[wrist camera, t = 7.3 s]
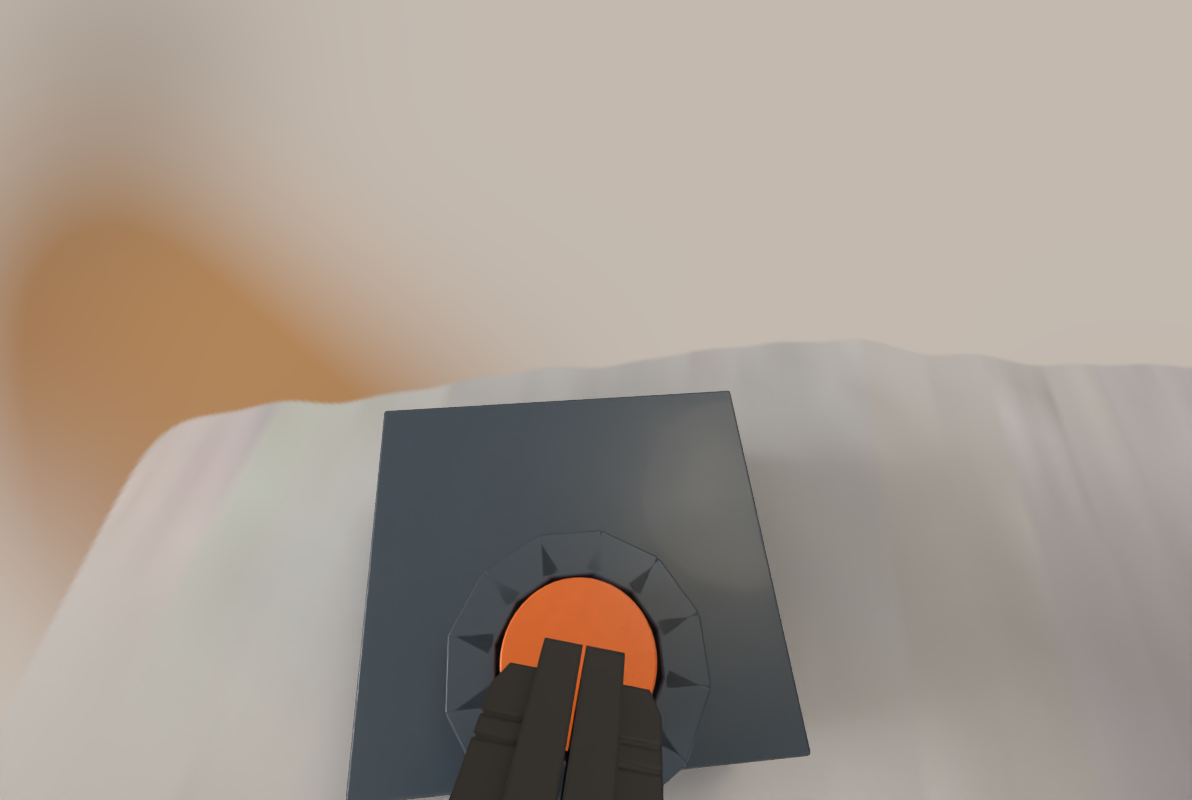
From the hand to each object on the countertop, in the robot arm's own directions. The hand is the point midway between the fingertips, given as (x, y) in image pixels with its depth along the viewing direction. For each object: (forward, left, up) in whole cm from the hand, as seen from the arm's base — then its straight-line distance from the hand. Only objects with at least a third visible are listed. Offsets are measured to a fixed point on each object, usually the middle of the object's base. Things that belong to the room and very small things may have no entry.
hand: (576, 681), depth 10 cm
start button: (0, 0, -4) cm, 4 cm away
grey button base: (0, -3, -12) cm, 12 cm away
